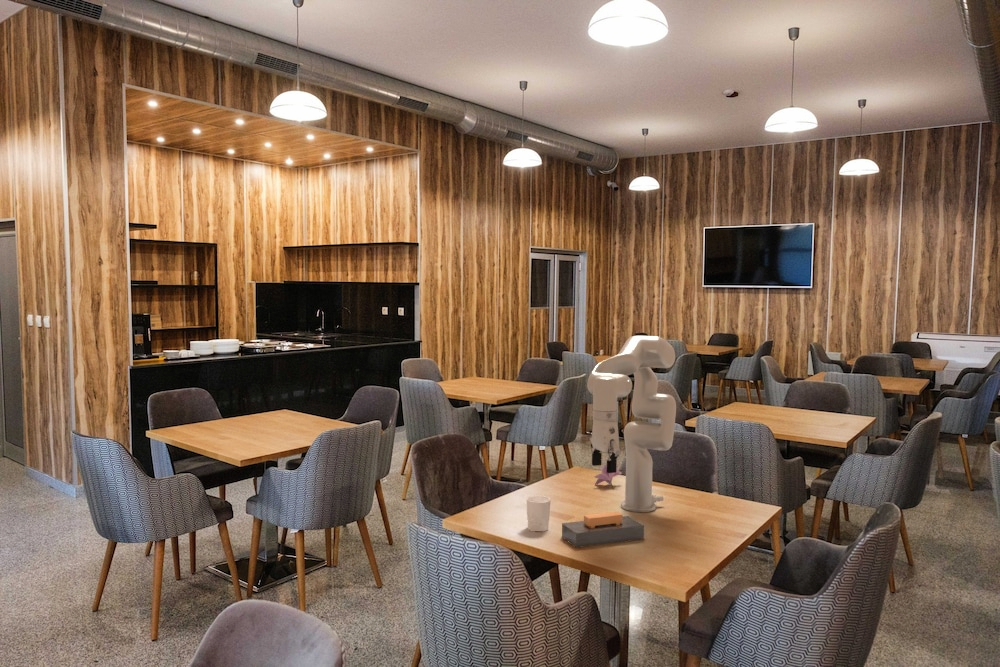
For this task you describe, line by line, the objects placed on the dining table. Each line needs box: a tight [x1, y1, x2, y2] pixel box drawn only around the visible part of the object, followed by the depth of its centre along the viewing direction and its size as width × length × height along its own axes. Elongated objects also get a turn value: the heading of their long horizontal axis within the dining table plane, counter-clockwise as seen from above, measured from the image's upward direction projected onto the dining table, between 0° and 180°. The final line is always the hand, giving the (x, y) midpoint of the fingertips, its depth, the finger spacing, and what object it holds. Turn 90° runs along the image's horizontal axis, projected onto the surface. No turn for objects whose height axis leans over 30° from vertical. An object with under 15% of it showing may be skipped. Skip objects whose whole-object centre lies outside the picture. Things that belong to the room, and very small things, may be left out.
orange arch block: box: [583, 511, 623, 529], centre depth 225 cm, size 12×4×8 cm, turn 111°
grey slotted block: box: [561, 515, 645, 548], centre depth 225 cm, size 24×10×4 cm, turn 110°
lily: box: [593, 464, 623, 489], centre depth 285 cm, size 12×12×10 cm
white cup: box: [526, 495, 552, 532], centre depth 233 cm, size 8×8×10 cm
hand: (603, 468), depth 224 cm, fingers open, 9 cm apart
